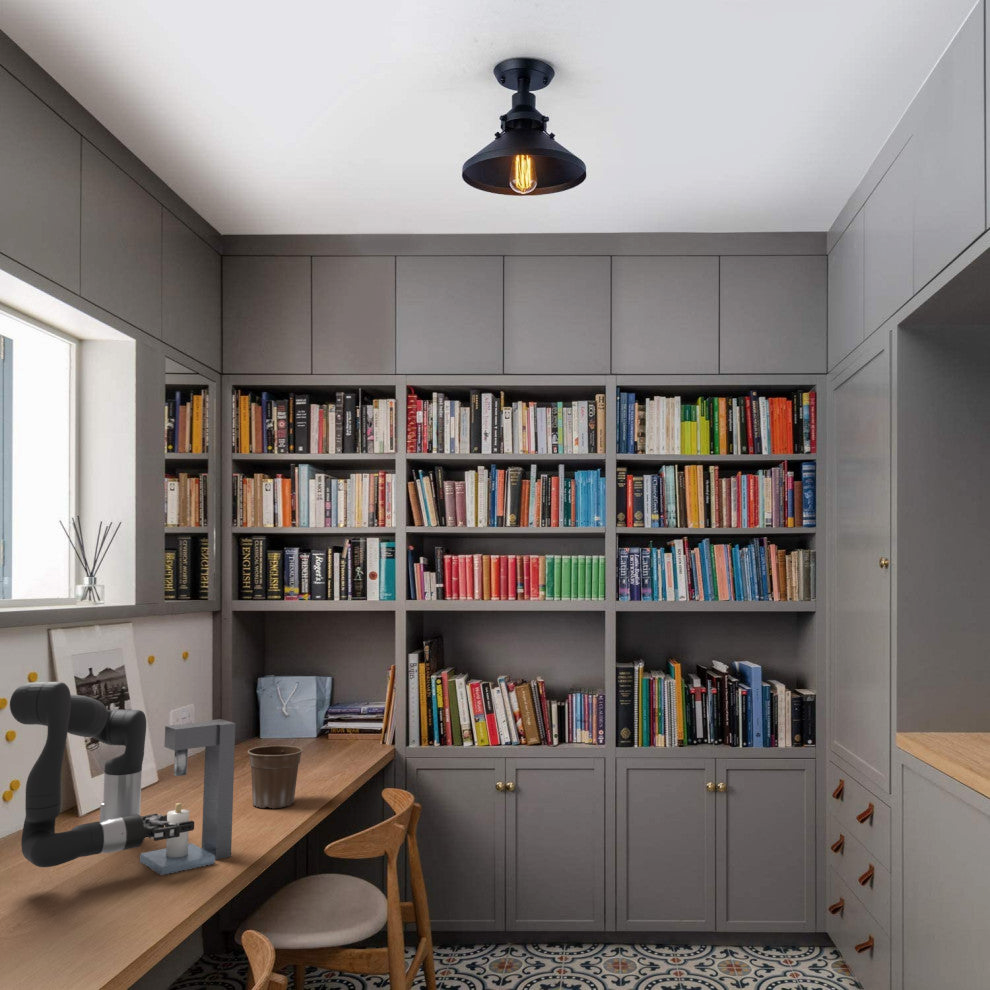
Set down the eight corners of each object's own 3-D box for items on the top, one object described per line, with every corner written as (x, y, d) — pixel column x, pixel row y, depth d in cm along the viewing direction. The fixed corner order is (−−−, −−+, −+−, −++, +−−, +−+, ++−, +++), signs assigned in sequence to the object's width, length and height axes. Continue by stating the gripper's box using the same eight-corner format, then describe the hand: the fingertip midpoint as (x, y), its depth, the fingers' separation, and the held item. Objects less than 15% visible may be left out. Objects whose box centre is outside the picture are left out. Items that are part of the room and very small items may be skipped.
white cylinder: (163, 858, 218) (165, 806, 219) (168, 851, 223) (170, 801, 224) (185, 857, 219) (186, 806, 220) (189, 851, 224) (191, 800, 225)
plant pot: (279, 794, 288) (280, 742, 289) (312, 803, 278) (313, 749, 279) (235, 804, 275) (236, 750, 277) (268, 814, 265) (269, 757, 266)
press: (161, 875, 212) (167, 733, 214) (125, 852, 228) (130, 720, 231) (235, 859, 224) (240, 724, 227) (196, 838, 241) (200, 713, 243)
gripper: (131, 823, 207) (199, 811, 218) (108, 811, 218) (174, 799, 228) (129, 857, 206) (198, 843, 217) (107, 843, 217) (173, 830, 228)
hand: (186, 821), depth 223 cm, fingers open, 8 cm apart
